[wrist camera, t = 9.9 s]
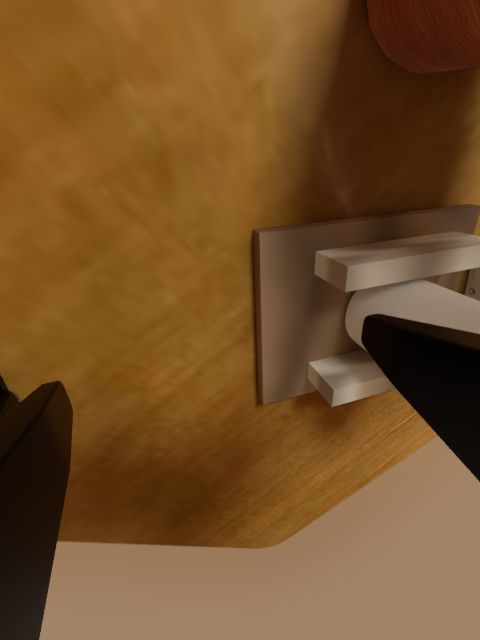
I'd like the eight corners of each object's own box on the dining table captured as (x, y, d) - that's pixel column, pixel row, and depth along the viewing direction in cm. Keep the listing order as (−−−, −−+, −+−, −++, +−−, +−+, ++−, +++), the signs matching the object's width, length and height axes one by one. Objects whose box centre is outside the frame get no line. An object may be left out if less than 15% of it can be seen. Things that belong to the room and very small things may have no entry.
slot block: (258, 396, 26) (281, 438, 22) (252, 229, 20) (284, 246, 16) (426, 352, 31) (471, 380, 27) (466, 204, 24) (534, 212, 20)
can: (422, 301, 26) (612, 391, 16) (365, 355, 27) (511, 474, 16) (391, 249, 23) (606, 320, 12) (327, 313, 23) (481, 429, 13)
